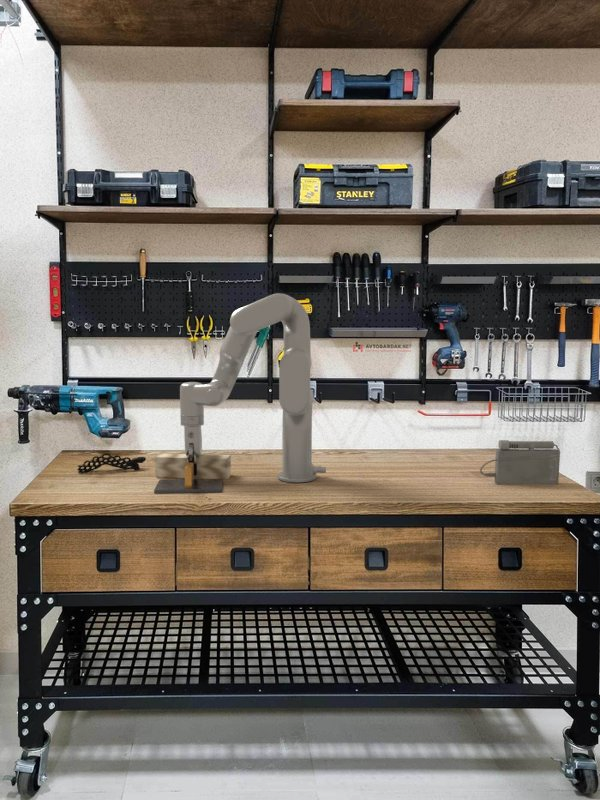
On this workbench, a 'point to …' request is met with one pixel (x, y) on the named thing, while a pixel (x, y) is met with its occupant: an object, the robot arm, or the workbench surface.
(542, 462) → the geiger counter
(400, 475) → the workbench surface
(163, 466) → the maple bar
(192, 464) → the stand
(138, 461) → the decorative element
